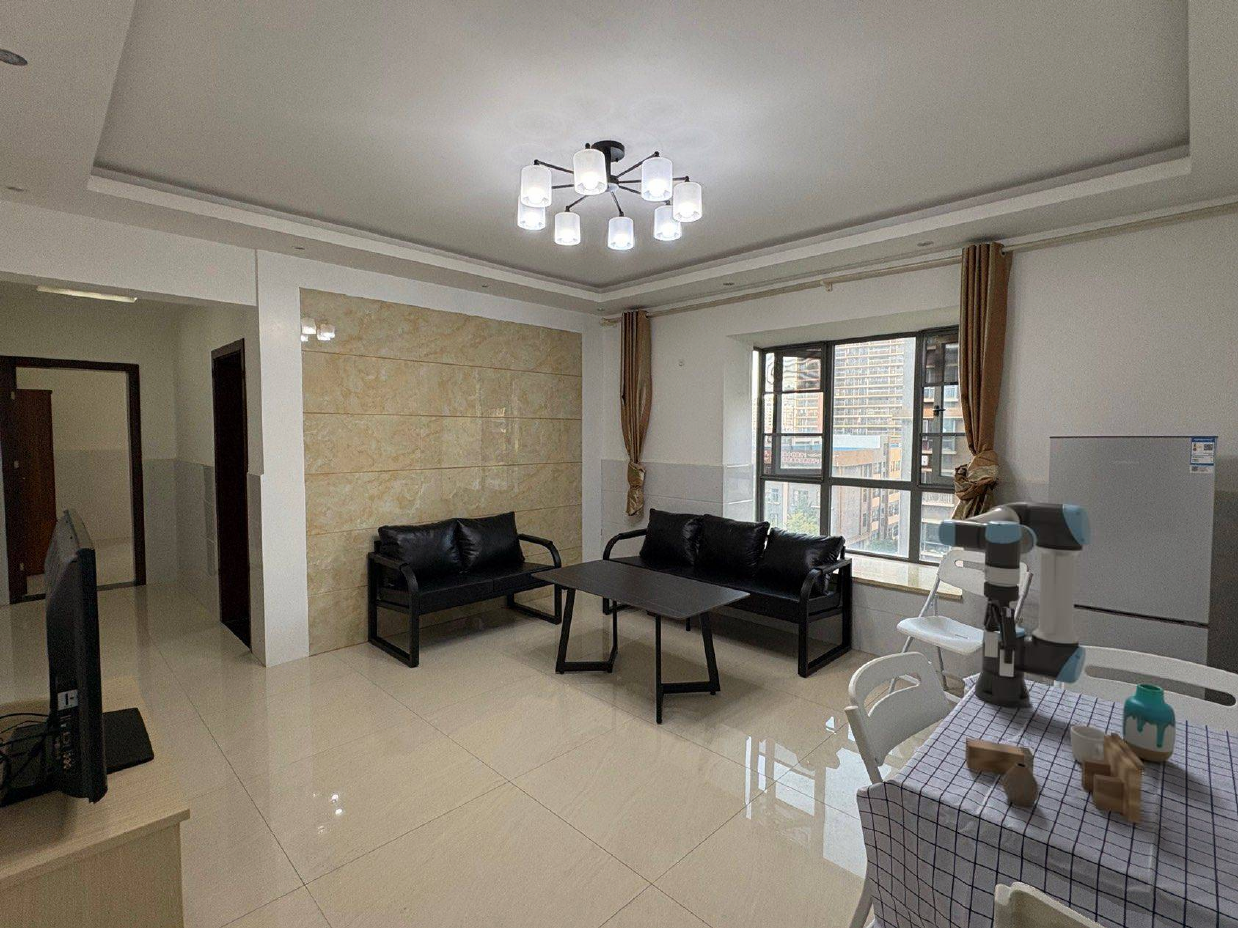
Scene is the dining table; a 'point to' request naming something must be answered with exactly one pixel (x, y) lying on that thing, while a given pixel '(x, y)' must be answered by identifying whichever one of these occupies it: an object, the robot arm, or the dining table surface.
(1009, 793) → the vase
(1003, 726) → the dining table surface
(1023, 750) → the brown wooden block
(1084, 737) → the cup
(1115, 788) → the headboard
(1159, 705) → the vase
